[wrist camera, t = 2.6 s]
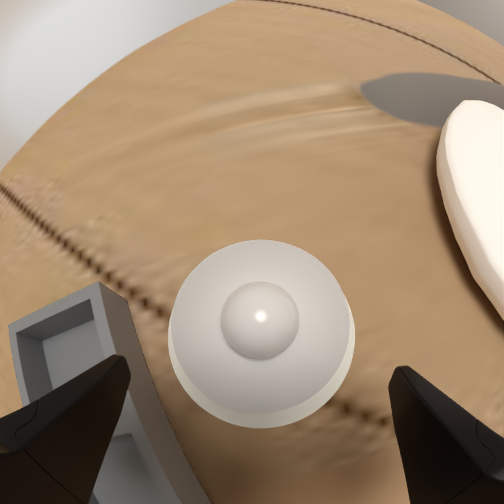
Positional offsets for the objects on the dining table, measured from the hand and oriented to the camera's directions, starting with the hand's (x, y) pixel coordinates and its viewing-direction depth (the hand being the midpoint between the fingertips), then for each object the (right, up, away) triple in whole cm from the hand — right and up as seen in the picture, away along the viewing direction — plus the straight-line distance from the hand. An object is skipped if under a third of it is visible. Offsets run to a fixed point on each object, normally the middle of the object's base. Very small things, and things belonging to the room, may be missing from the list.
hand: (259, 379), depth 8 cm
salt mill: (0, -3, +8) cm, 9 cm away
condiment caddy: (-9, -8, +6) cm, 14 cm away
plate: (+28, +7, +12) cm, 32 cm away
